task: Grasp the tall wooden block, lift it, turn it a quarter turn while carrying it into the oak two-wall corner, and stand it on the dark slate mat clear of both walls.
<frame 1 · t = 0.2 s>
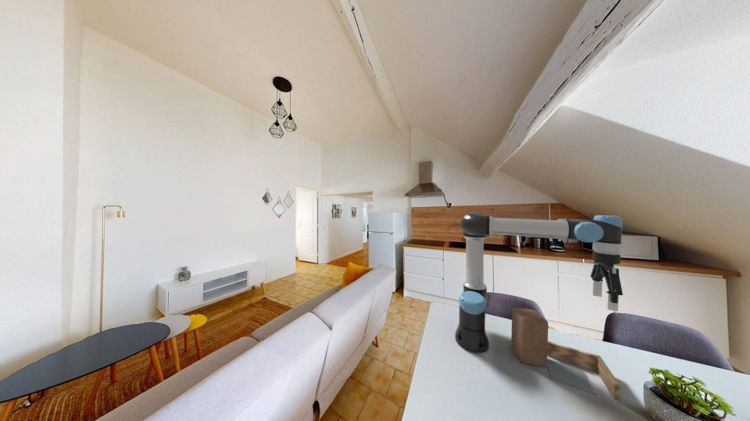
hand: (604, 302, 81), 28 cm above the table, fingers open, 13 cm apart
arena: (568, 370, 80), on the table
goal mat: (567, 374, 78), on the table
wooden block: (527, 357, 87), on the table
plant pot: (526, 337, 100), on the table
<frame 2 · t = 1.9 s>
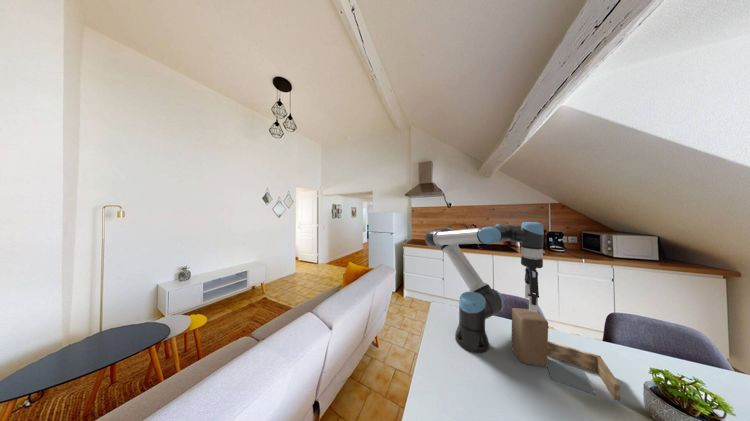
hand: (530, 304, 86), 24 cm above the table, fingers open, 13 cm apart
nothing on the table moved.
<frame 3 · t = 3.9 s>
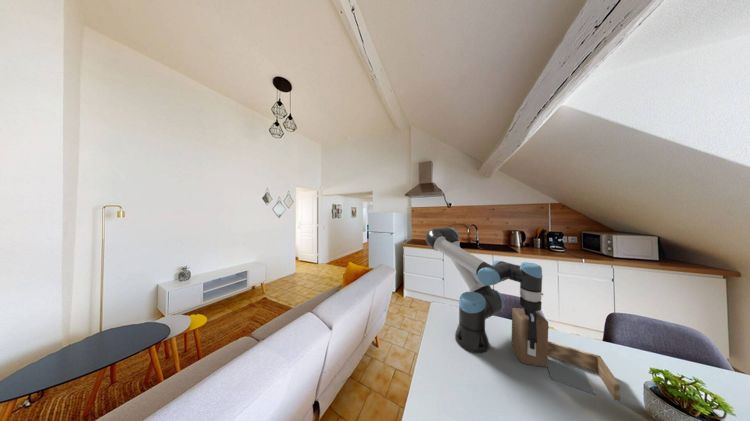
hand: (529, 345, 87), 5 cm above the table, fingers closed on wooden block, 12 cm apart
wooden block: (528, 357, 87), on the table, touching gripper
everything else where it was.
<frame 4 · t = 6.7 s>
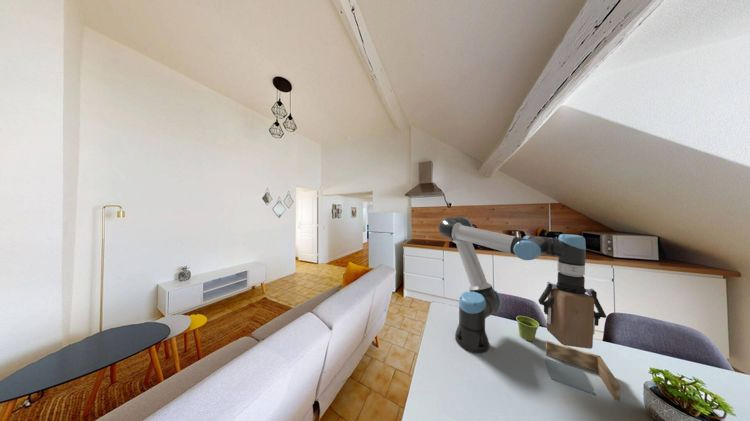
hand: (569, 327, 78), 20 cm above the table, fingers closed on wooden block, 12 cm apart
wooden block: (567, 339, 78), point 14 cm above the table, touching gripper
everything else where it was.
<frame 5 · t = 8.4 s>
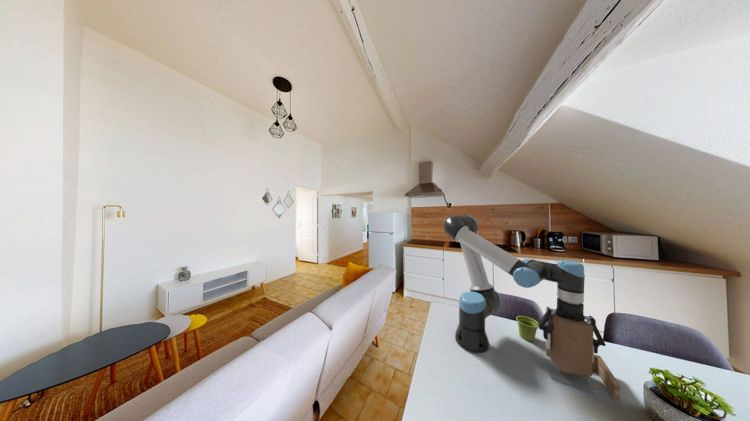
hand: (568, 353, 78), 9 cm above the table, fingers closed on wooden block, 12 cm apart
wooden block: (567, 365, 78), point 4 cm above the table, touching gripper
everything else where it was.
when the fingers open (6 cm above the table, at t = 9.6 s): wooden block stays where it is, resting on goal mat.
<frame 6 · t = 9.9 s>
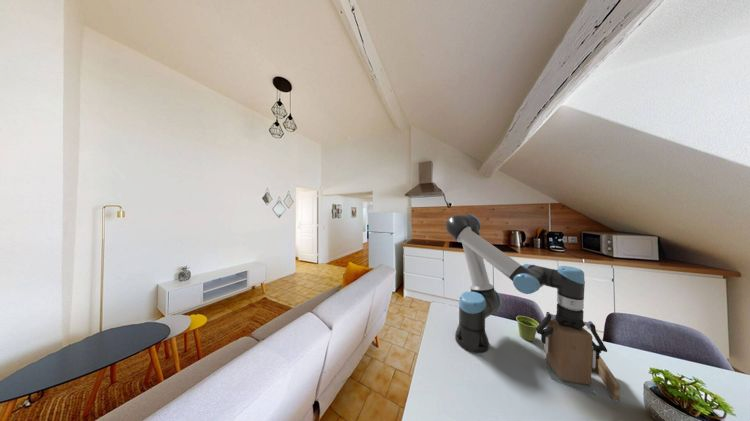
hand: (568, 357, 78), 7 cm above the table, fingers open, 13 cm apart
wooden block: (566, 373, 79), resting on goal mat
everything else where it was.
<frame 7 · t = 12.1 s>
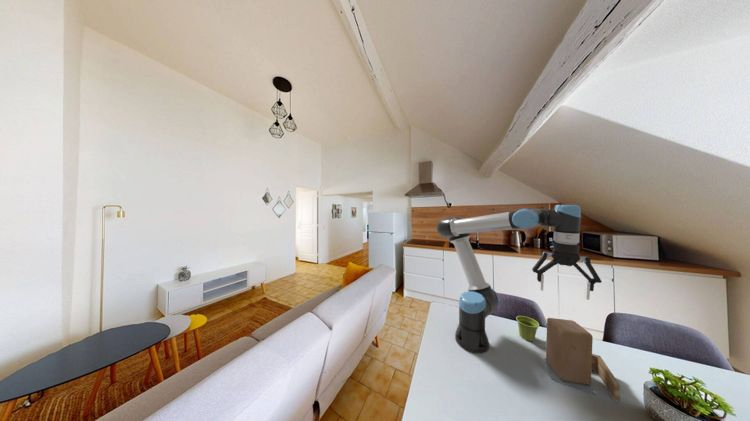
hand: (562, 293, 80), 32 cm above the table, fingers open, 13 cm apart
nothing on the table moved.
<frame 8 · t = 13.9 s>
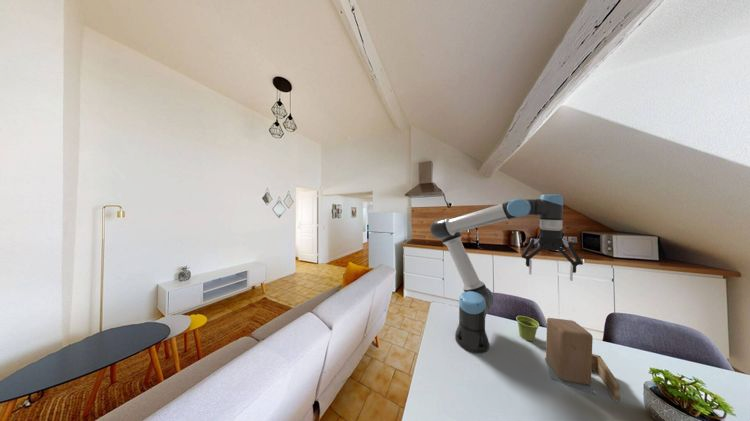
hand: (549, 276, 86), 37 cm above the table, fingers open, 13 cm apart
nothing on the table moved.
at the end: wooden block inside the target area (0.4 cm from its centre), resting on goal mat; wooden block tilted 0°; wooden block touching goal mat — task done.
